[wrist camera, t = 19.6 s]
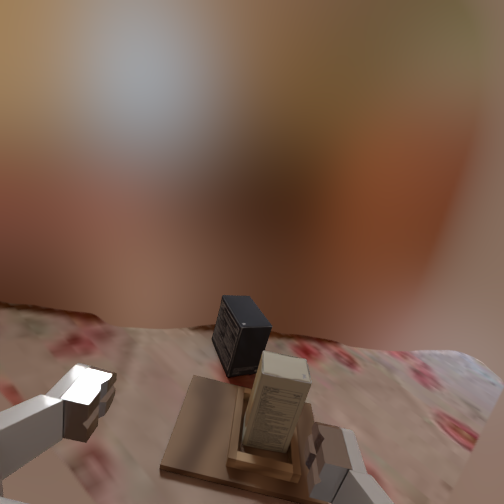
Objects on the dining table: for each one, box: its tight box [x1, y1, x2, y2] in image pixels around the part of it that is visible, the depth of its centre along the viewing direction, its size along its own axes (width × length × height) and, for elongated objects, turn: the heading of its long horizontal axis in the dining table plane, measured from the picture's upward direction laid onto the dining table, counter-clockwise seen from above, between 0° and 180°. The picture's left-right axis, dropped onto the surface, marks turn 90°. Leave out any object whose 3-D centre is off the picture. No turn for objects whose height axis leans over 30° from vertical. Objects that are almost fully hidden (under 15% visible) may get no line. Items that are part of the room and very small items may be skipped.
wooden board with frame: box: [160, 375, 328, 504], centre depth 38 cm, size 20×14×2 cm
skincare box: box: [242, 351, 312, 453], centre depth 36 cm, size 6×4×12 cm
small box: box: [212, 295, 272, 377], centre depth 51 cm, size 11×6×10 cm, turn 24°
